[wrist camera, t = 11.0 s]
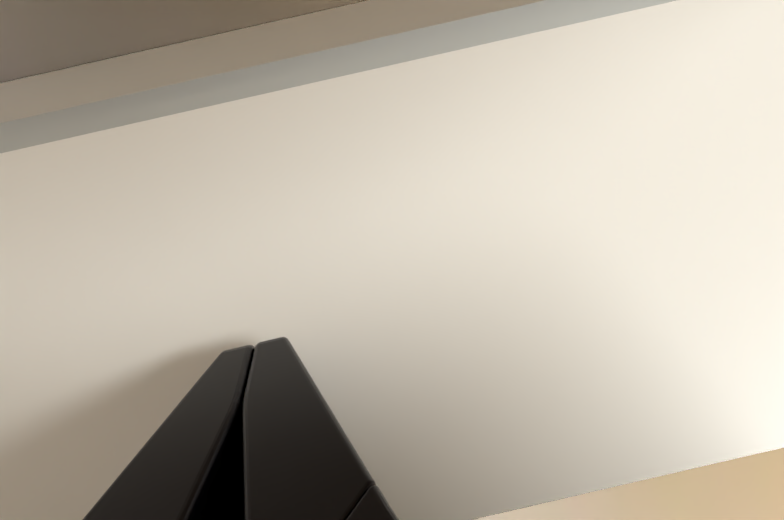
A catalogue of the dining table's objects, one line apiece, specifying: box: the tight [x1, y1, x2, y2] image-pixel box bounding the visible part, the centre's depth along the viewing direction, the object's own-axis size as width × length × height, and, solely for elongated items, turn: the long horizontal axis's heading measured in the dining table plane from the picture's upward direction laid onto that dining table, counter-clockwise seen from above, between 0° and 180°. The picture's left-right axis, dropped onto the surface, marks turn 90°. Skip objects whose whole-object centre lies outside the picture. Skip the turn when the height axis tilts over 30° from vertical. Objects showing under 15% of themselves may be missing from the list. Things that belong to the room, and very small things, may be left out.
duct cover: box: [0, 0, 784, 520], centre depth 9 cm, size 19×6×1 cm
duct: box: [0, 0, 677, 153], centre depth 13 cm, size 21×7×3 cm, turn 101°
